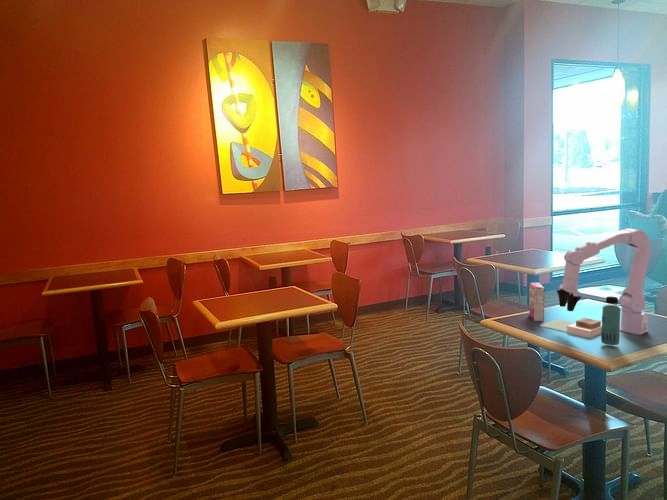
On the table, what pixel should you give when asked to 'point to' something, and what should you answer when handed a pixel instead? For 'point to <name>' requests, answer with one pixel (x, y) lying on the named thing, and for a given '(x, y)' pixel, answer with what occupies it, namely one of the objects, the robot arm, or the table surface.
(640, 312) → the robot arm
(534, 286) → the candy bar box
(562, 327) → the mat
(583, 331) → the pale pink flat block
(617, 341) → the beverage bottle
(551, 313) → the table surface
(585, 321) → the walnut tile
